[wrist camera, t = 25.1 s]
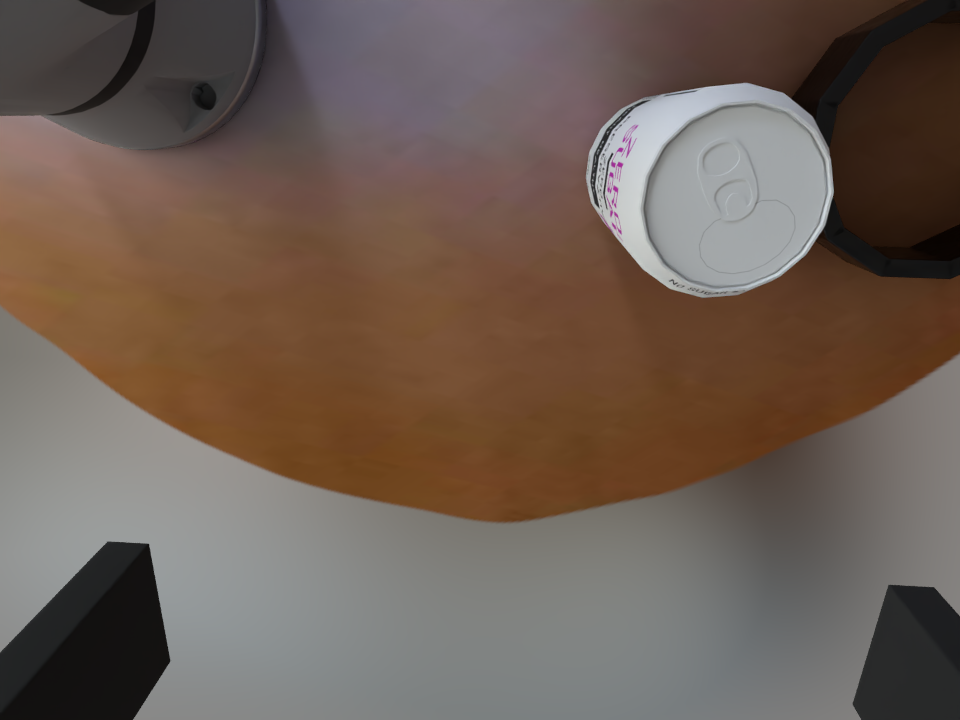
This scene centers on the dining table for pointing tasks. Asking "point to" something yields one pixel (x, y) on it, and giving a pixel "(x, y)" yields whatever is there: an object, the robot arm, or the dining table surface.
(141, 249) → the dining table surface
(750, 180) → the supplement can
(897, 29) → the can holder
